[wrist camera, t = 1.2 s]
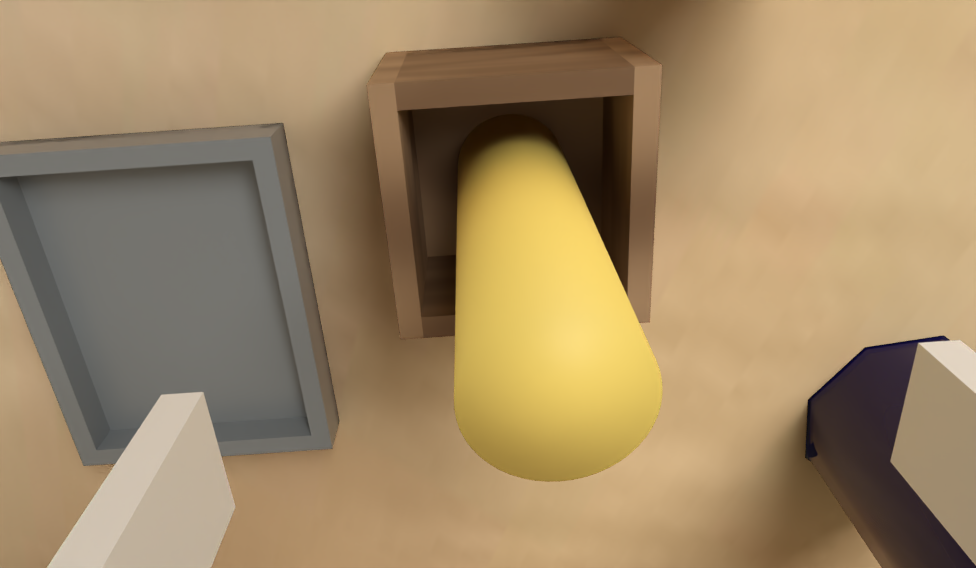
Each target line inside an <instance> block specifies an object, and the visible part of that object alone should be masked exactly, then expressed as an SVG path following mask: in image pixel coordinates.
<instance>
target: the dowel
mask: <svg viewBox="0 0 976 568" xmlns="http://www.w3.org/2000/svg"><path fill="white" fill-rule="evenodd" d="M661 400H662V379H661V374H660V370H659V367H658V364H657V361H656V359H655V357H654V355H653V352H652V350H651V348H650V346H649V343H648V341H647V339H646V337H645V335H644V332H643V330H642V328H641V326H640V323H639V321H638V319H637V317H636V315H635V312H634V310H633V308H632V306H631V303H630V301H629V299H628V297H627V295H626V292H625V290H624V288H623V286H622V283H621V281H620V279H619V277H618V274H617V272H616V270H615V268H614V266H613V263H612V261H611V259H610V257H609V254H608V252H607V250H606V248H605V246H604V243H603V241H602V239H601V237H600V234H599V232H598V230H597V228H596V225H595V223H594V221H593V219H592V217H591V214H590V212H589V210H588V208H587V205H586V203H585V201H584V199H583V197H582V194H581V192H580V190H579V188H578V185H577V183H576V181H575V179H574V176H573V174H572V172H571V170H570V168H569V165H568V163H567V161H566V159H565V156H564V154H563V152H562V150H561V148H560V145H559V143H558V141H557V139H556V138H555V136H554V135H553V134H552V132H551V131H550V130H549V129H548V128H547V127H546V126H545V125H543V124H542V123H540V122H539V121H537V120H535V119H533V118H531V117H528V116H524V115H518V114H505V115H499V116H496V117H493V118H490V119H488V120H486V121H484V122H483V123H481V124H480V125H478V126H477V127H476V128H475V129H474V130H473V131H472V132H471V133H470V134H469V135H468V137H467V138H466V140H465V142H464V143H463V145H462V148H461V150H460V154H459V159H458V188H457V247H456V307H455V366H454V410H455V416H456V420H457V423H458V426H459V429H460V431H461V433H462V435H463V437H464V438H465V440H466V441H467V443H468V444H469V445H470V447H471V448H472V449H473V450H474V451H475V452H476V453H477V454H478V455H479V456H480V457H481V458H482V459H484V460H485V461H486V462H487V463H489V464H490V465H492V466H494V467H496V468H497V469H499V470H501V471H503V472H506V473H508V474H510V475H514V476H517V477H520V478H524V479H529V480H535V481H547V482H549V481H567V480H574V479H578V478H583V477H587V476H590V475H593V474H596V473H598V472H601V471H603V470H605V469H607V468H609V467H611V466H613V465H614V464H616V463H618V462H620V461H621V460H622V459H624V458H625V457H626V456H628V455H629V454H630V453H631V452H632V451H633V450H635V449H636V448H637V447H638V446H639V445H640V443H641V442H642V441H643V440H644V439H645V438H646V436H647V435H648V433H649V432H650V430H651V428H652V427H653V425H654V423H655V421H656V418H657V416H658V413H659V410H660V406H661Z"/></svg>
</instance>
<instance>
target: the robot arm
mask: <svg viewBox="0 0 976 568" xmlns="http://www.w3.org/2000/svg"><path fill="white" fill-rule="evenodd" d="M890 462H891V463H892V464H893V465H894V467H895V468H896V469H897V470H898V472H899V473H900V474H901V475H902V476H903V478H904V479H905V480H906V481H907V482H908V484H909V485H910V486H911V487H912V489H913V490H914V491H915V492H916V493H917V495H918V496H919V497H920V498H921V500H922V501H923V502H924V503H925V504H926V506H927V507H928V508H929V509H930V510H931V512H932V513H933V514H934V515H935V517H936V518H937V519H938V520H939V521H940V523H941V524H942V525H943V526H944V528H945V529H946V530H947V531H948V532H949V534H950V535H951V536H952V537H953V539H954V540H955V541H956V542H957V543H958V545H959V546H960V547H961V548H962V549H963V551H964V552H965V553H966V554H967V556H968V557H969V558H970V559H971V560H972V562H973V563H974V564H975V565H976V353H975V352H974V351H973V350H972V349H970V348H969V347H968V346H967V345H965V344H964V343H963V342H962V341H961V340H952V341H938V342H923V343H918V346H917V350H916V355H915V359H914V363H913V367H912V372H911V376H910V380H909V384H908V389H907V393H906V397H905V401H904V406H903V410H902V414H901V419H900V423H899V427H898V431H897V436H896V440H895V444H894V448H893V453H892V457H891V461H890ZM234 509H235V503H234V500H233V496H232V493H231V489H230V485H229V482H228V478H227V475H226V471H225V468H224V464H223V461H222V457H221V453H220V450H219V446H218V443H217V439H216V436H215V432H214V428H213V425H212V421H211V418H210V414H209V411H208V407H207V403H206V400H205V396H204V393H203V392H193V393H179V394H164V395H161V396H160V397H159V399H158V401H157V402H156V404H155V405H154V407H153V408H152V410H151V411H150V413H149V414H148V416H147V417H146V419H145V420H144V422H143V423H142V425H141V426H140V428H139V429H138V431H137V432H136V434H135V435H134V437H133V438H132V440H131V441H130V443H129V444H128V446H127V447H126V449H125V450H124V452H123V453H122V455H121V456H120V458H119V459H118V461H117V462H116V464H115V465H114V467H113V468H112V470H111V471H110V473H109V474H108V476H107V477H106V479H105V480H104V482H103V484H102V485H101V487H100V488H99V490H98V491H97V493H96V494H95V496H94V497H93V499H92V500H91V502H90V503H89V505H88V506H87V508H86V509H85V511H84V512H83V514H82V515H81V517H80V518H79V520H78V521H77V523H76V524H75V526H74V527H73V529H72V530H71V532H70V533H69V535H68V536H67V538H66V539H65V541H64V542H63V544H62V545H61V547H60V548H59V550H58V551H57V553H56V554H55V556H54V557H53V559H52V560H51V562H50V563H49V565H48V566H47V568H211V567H212V564H213V562H214V559H215V557H216V554H217V552H218V549H219V547H220V544H221V542H222V539H223V537H224V534H225V532H226V529H227V527H228V524H229V522H230V519H231V517H232V514H233V512H234Z"/></svg>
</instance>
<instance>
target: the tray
mask: <svg viewBox="0 0 976 568" xmlns="http://www.w3.org/2000/svg"><path fill="white" fill-rule="evenodd" d="M0 259H1V261H2V264H3V266H4V269H5V271H6V274H7V276H8V279H9V281H10V284H11V286H12V289H13V291H14V294H15V296H16V299H17V301H18V304H19V306H20V308H21V311H22V313H23V316H24V318H25V321H26V323H27V326H28V328H29V331H30V333H31V336H32V338H33V341H34V343H35V346H36V348H37V351H38V353H39V356H40V358H41V361H42V363H43V366H44V368H45V371H46V373H47V376H48V378H49V381H50V383H51V386H52V388H53V391H54V393H55V396H56V398H57V401H58V403H59V406H60V408H61V411H62V413H63V416H64V418H65V421H66V423H67V426H68V428H69V431H70V433H71V435H72V438H73V440H74V443H75V445H76V448H77V450H78V453H79V455H80V458H81V460H82V463H83V465H84V466H89V465H103V464H116V462H117V461H118V459H119V458H120V456H121V455H122V453H123V452H124V450H125V449H126V447H127V446H128V444H129V443H130V441H131V440H132V438H133V437H134V435H135V434H136V432H137V431H138V429H139V428H140V426H141V425H142V423H143V422H144V420H145V419H146V417H147V416H148V414H149V413H150V411H151V410H152V408H153V407H154V405H155V404H156V402H157V401H158V399H159V397H160V396H161V395H164V394H179V393H193V392H203V393H204V396H205V400H206V403H207V407H208V411H209V414H210V418H211V421H212V425H213V428H214V432H215V436H216V439H217V443H218V446H219V450H220V453H221V456H234V455H249V454H263V453H278V452H292V451H307V450H321V449H332V448H333V444H334V440H335V436H336V432H337V428H338V424H339V416H338V411H337V406H336V400H335V395H334V390H333V385H332V379H331V374H330V369H329V363H328V358H327V353H326V348H325V342H324V337H323V332H322V326H321V321H320V316H319V311H318V305H317V300H316V295H315V289H314V284H313V279H312V273H311V268H310V263H309V258H308V252H307V247H306V242H305V236H304V231H303V226H302V221H301V215H300V210H299V205H298V199H297V194H296V189H295V184H294V178H293V173H292V168H291V162H290V157H289V152H288V146H287V141H286V136H285V131H284V125H283V123H276V124H261V125H247V126H232V127H217V128H202V129H187V130H172V131H158V132H143V133H128V134H113V135H98V136H83V137H68V138H54V139H39V140H24V141H9V142H0Z"/></svg>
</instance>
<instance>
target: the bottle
mask: <svg viewBox="0 0 976 568" xmlns="http://www.w3.org/2000/svg"><path fill="white" fill-rule="evenodd" d="M938 341H950V340H949V339H948V338H946V337H945V336H938V337H931V338H925V339H918V340H911V341H905V342H898V343H892V344H885V345H879V346H872V347H865V348H864V349H863V350H862V351H861V352H860V353H859V354H858V355H857V356H856V357H855V358H853V359H852V360H851V361H850V362H849V363H848V364H847V365H846V366H845V367H844V368H843V369H841V370H840V371H839V372H838V373H837V374H836V375H835V376H834V377H833V378H832V379H831V380H829V381H828V382H827V383H826V384H825V385H824V386H823V387H822V388H821V389H820V390H819V391H817V392H816V393H815V394H814V395H813V396H812V397H811V398H810V399H809V400H808V414H807V434H806V454H805V458H807V459H808V460H810V461H811V462H812V463H813V465H814V466H815V468H816V469H817V471H818V472H819V474H820V475H821V477H822V478H823V480H824V481H825V483H826V484H827V486H828V487H829V489H830V490H831V492H832V493H833V495H834V496H835V498H836V499H837V501H838V502H839V504H840V505H841V507H842V508H843V510H844V511H845V513H846V514H847V516H848V517H849V519H850V520H851V522H852V523H853V525H854V526H855V528H856V529H857V531H858V532H859V534H860V535H861V537H862V539H863V540H864V542H865V543H866V545H867V546H868V548H869V549H870V551H871V552H872V554H873V555H874V557H875V558H876V560H877V561H878V563H879V564H880V566H881V567H882V568H976V565H975V564H974V563H973V562H972V560H971V559H970V558H969V557H968V556H967V554H966V553H965V552H964V551H963V549H962V548H961V547H960V546H959V545H958V543H957V542H956V541H955V540H954V539H953V537H952V536H951V535H950V534H949V532H948V531H947V530H946V529H945V528H944V526H943V525H942V524H941V523H940V521H939V520H938V519H937V518H936V517H935V515H934V514H933V513H932V512H931V510H930V509H929V508H928V507H927V506H926V504H925V503H924V502H923V501H922V500H921V498H920V497H919V496H918V495H917V493H916V492H915V491H914V490H913V489H912V487H911V486H910V485H909V484H908V482H907V481H906V480H905V479H904V478H903V476H902V475H901V474H900V473H899V472H898V470H897V469H896V468H895V467H894V465H893V464H892V463H891V462H890V461H891V457H892V453H893V448H894V444H895V440H896V436H897V431H898V427H899V423H900V419H901V414H902V410H903V406H904V401H905V397H906V393H907V389H908V384H909V380H910V376H911V372H912V367H913V363H914V359H915V355H916V350H917V346H918V343H923V342H938Z"/></svg>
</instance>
